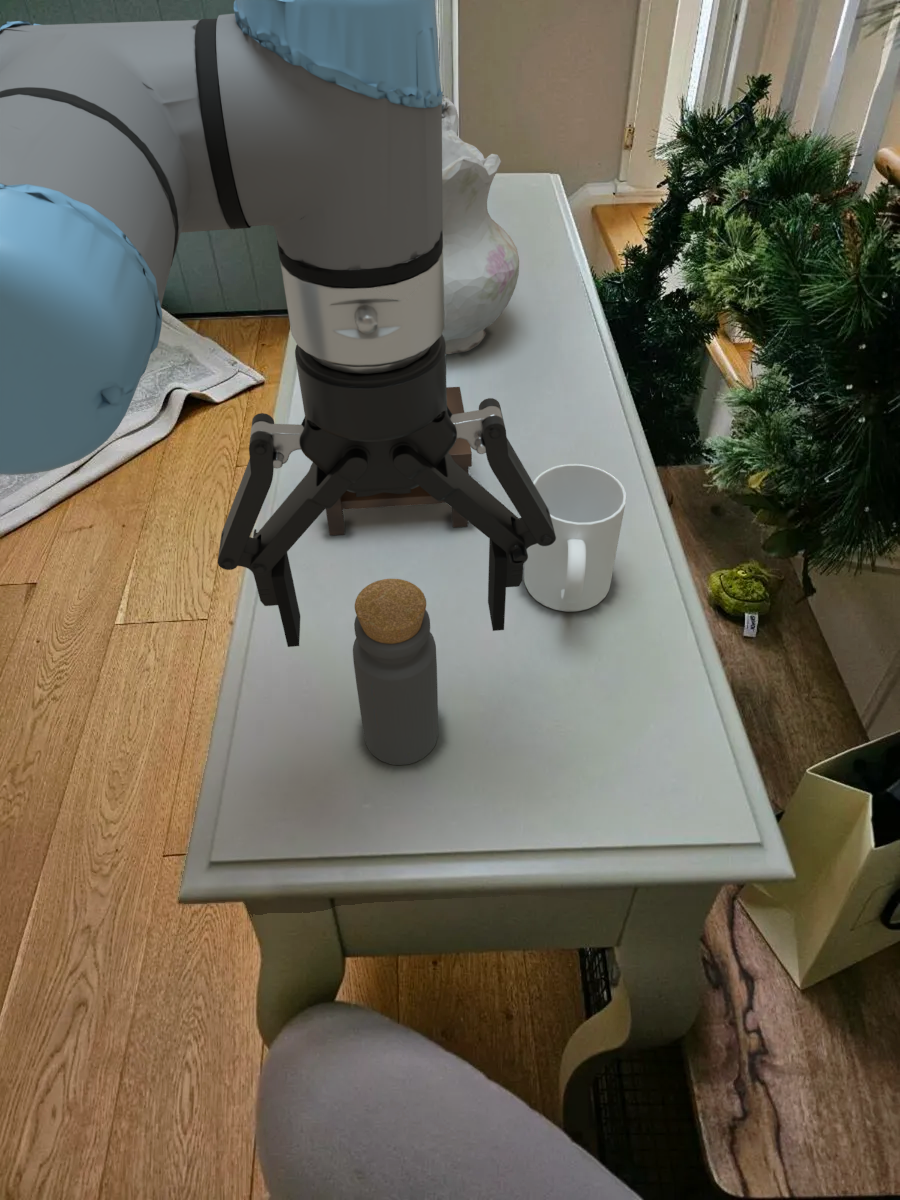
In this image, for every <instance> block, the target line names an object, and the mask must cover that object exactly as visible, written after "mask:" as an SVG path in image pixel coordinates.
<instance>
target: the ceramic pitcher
mask: <svg viewBox="0 0 900 1200" xmlns="http://www.w3.org/2000/svg"><path fill="white" fill-rule="evenodd" d="M459 126H460V118H459V115H458V111H457V107H456V106H455V104H454V103H453V102H452V101H451V97H448V95H446V96H445V95H444V94H443V97H442V211H443V264H444V303H445V328H444V330H443V332H442V335H443V337H444V339H445V345H446V355H451V354H458V353H459V354H460V353H466V352H469V351H471V350H473V349H474V348H476V347H477V346H479V345H480V344H481V342H483V340H484V338H485V337H486V335H487V332H486V330H485V329H486V328H487V327H489V326H490V325H492V324H493V323H494V322H495V321H496V320H497V319H498V318H499V317H500V316H501V315H502V313H503V312H504V310H505V309H506V308H507V307H508V305H509V303H510V301H511V299H512V297H513V295H514V292H515V290H516V287H517V283H518V279H519V273H520V256H519V252H518V247H517V245H516V244H515V242H514V240H513V239H512V237H511V236H510V235H509V233H508V232H507V231H506V230H505V229H504V228H503V227H502V226H501V225H500V224H499V223H497V221H495V220H494V219H493V218H492V217H491V215H490V213H489V211H488V200H489V199H488V197H489V193H490V190H491V186H492V183H493V180H494V179H495V176H496V175H497V173H498V171H499V170H500V166H501V164H502V160H501V158H500V156H499V154H496V153H490V154H489V155H488V156H487V157H486V158H485V156H484V154H483V153H482V152H481V151H480V150H479V149H478V148H477V147H476V146H475V145H473V144H471V143H468V142H466V141H464V140H463V139H462V138H460V137H459V129H460V127H459Z"/></svg>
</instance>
